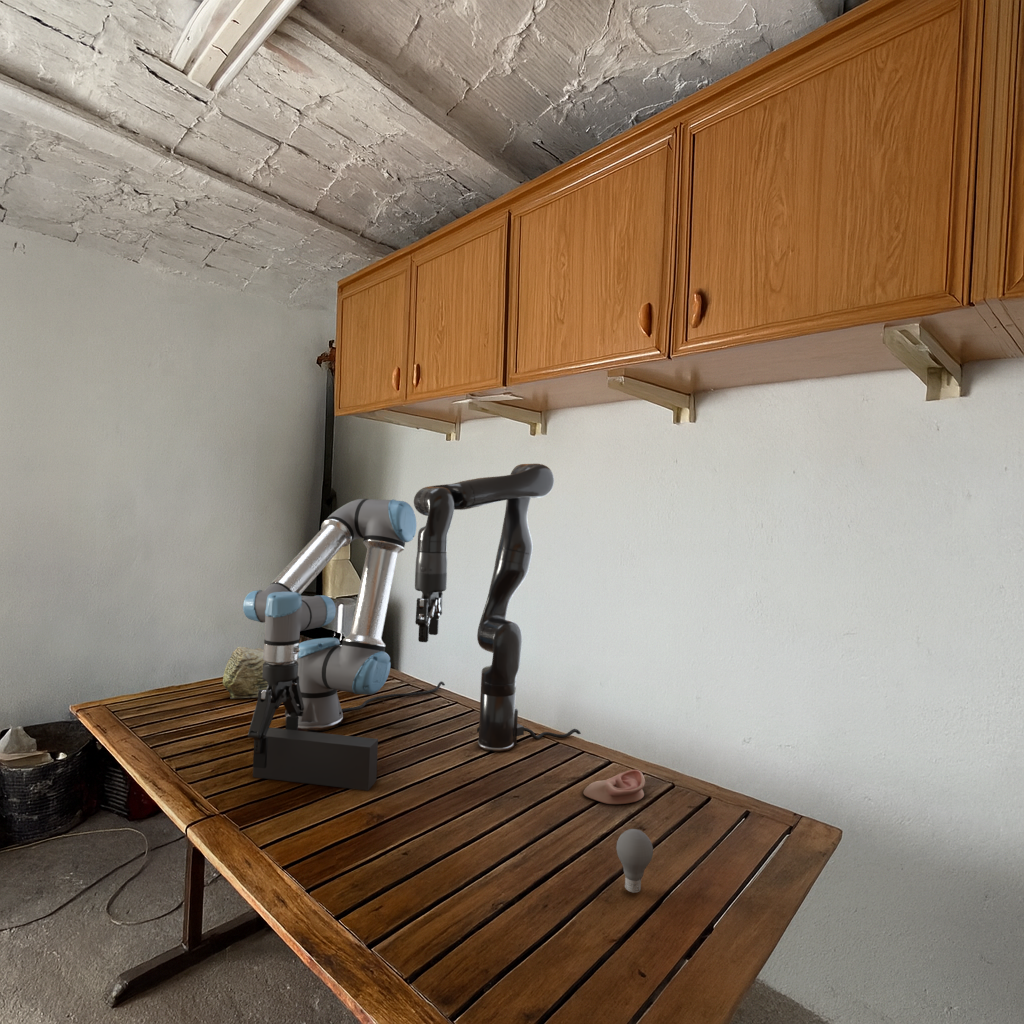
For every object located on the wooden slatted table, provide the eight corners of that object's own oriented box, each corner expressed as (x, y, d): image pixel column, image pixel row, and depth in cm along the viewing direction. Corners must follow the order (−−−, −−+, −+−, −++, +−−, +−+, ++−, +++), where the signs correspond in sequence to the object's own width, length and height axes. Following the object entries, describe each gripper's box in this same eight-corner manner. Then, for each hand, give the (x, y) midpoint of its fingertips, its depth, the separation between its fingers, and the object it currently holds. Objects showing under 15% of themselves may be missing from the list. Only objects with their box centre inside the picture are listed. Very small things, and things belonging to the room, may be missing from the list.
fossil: (218, 695, 195) (220, 647, 195) (278, 685, 208) (279, 640, 207) (228, 703, 189) (230, 653, 188) (289, 692, 201) (290, 645, 201)
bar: (252, 777, 141) (254, 734, 141) (264, 767, 146) (266, 727, 146) (368, 790, 137) (369, 747, 137) (376, 780, 142) (378, 738, 142)
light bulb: (610, 879, 108) (613, 822, 108) (644, 879, 109) (647, 822, 109) (619, 902, 102) (622, 840, 102) (655, 901, 103) (658, 840, 103)
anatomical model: (582, 782, 137) (587, 761, 148) (581, 800, 137) (586, 778, 148) (645, 790, 134) (645, 768, 145) (644, 809, 134) (644, 785, 145)
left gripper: (266, 676, 130) (261, 779, 130) (321, 651, 155) (316, 737, 155) (233, 673, 131) (227, 775, 131) (292, 648, 156) (288, 734, 156)
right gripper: (438, 574, 143) (435, 645, 144) (453, 568, 157) (451, 633, 158) (406, 572, 145) (403, 643, 145) (424, 566, 159) (422, 631, 159)
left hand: (276, 755), depth 143 cm, fingers open, 13 cm apart
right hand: (428, 638), depth 151 cm, fingers open, 8 cm apart
